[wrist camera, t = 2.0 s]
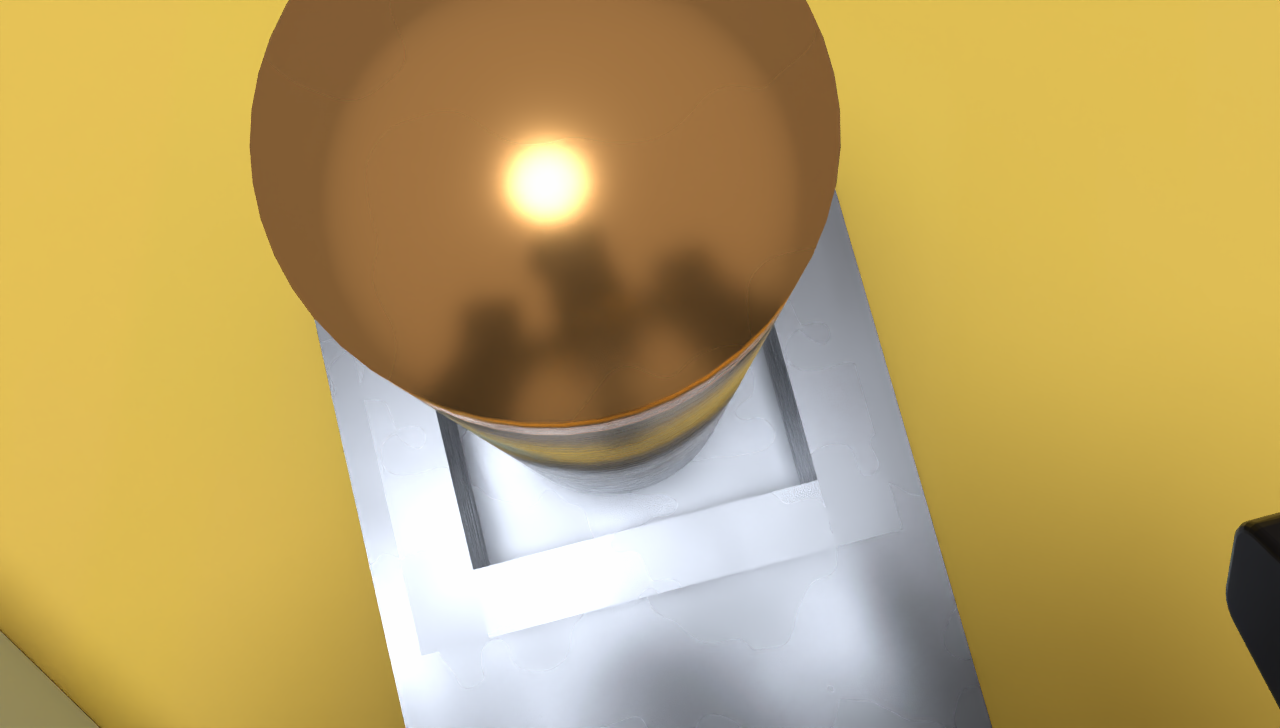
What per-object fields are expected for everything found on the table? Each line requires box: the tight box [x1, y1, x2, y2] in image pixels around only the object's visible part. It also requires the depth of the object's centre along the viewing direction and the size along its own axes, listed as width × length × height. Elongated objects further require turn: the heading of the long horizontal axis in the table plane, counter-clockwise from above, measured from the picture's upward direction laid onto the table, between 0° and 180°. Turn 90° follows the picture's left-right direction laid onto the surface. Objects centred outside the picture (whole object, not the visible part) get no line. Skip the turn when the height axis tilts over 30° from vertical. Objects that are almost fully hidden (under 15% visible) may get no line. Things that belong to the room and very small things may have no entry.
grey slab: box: [315, 191, 992, 728], centre depth 19 cm, size 15×9×3 cm, turn 14°
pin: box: [250, 0, 841, 494], centre depth 14 cm, size 4×4×12 cm
